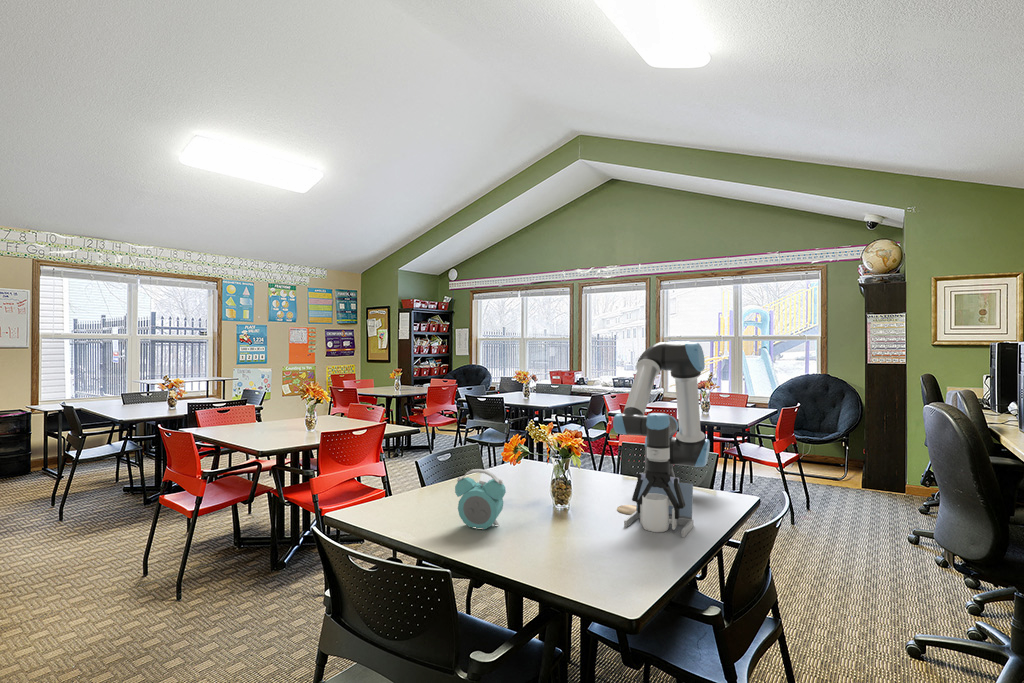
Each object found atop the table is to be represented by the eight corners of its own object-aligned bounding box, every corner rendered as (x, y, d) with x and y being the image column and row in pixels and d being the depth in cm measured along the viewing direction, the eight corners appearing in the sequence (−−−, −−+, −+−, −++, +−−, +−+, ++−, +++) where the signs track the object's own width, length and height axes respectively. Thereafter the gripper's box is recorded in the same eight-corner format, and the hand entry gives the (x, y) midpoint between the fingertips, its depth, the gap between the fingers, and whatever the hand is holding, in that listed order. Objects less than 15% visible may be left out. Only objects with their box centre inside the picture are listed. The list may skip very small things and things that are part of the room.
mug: (682, 532, 180) (682, 500, 180) (646, 532, 180) (645, 500, 180) (674, 524, 188) (674, 492, 188) (639, 524, 188) (639, 493, 188)
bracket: (636, 516, 196) (636, 510, 196) (693, 526, 186) (693, 519, 186) (624, 527, 186) (624, 520, 186) (684, 537, 175) (683, 530, 175)
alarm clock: (509, 524, 189) (508, 466, 189) (501, 533, 180) (500, 473, 180) (462, 520, 193) (461, 464, 194) (452, 529, 184) (451, 470, 184)
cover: (636, 511, 195) (637, 510, 196) (691, 519, 185) (692, 519, 186) (637, 477, 197) (639, 477, 198) (692, 484, 187) (693, 483, 188)
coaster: (622, 504, 212) (622, 503, 212) (650, 508, 206) (650, 507, 206) (612, 511, 202) (612, 510, 202) (641, 516, 197) (641, 515, 197)
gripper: (622, 457, 187) (622, 522, 187) (689, 465, 175) (689, 534, 175) (629, 454, 194) (629, 517, 193) (695, 461, 182) (695, 528, 182)
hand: (658, 525), depth 184 cm, fingers closed on mug, 10 cm apart
